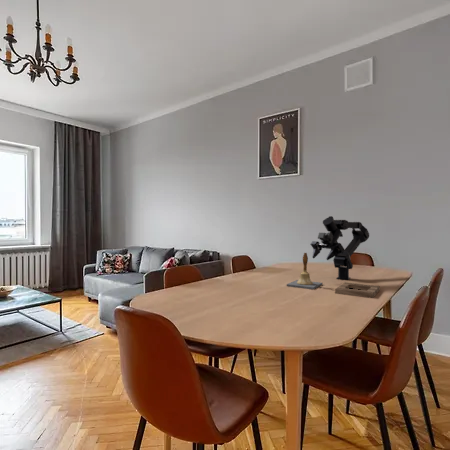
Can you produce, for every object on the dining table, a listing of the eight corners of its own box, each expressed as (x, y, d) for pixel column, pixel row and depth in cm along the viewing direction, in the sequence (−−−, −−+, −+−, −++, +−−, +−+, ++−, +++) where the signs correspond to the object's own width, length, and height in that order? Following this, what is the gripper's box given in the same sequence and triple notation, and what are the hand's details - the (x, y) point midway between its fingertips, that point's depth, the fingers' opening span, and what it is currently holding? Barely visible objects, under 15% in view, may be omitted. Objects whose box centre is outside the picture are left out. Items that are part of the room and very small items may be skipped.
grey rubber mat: (297, 281, 172) (296, 279, 172) (322, 284, 164) (322, 282, 164) (286, 286, 161) (286, 284, 161) (313, 289, 153) (313, 287, 153)
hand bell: (305, 281, 168) (305, 251, 168) (316, 284, 160) (316, 253, 160) (293, 282, 164) (293, 252, 164) (303, 285, 157) (303, 254, 157)
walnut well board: (345, 286, 159) (345, 282, 159) (379, 290, 150) (379, 286, 150) (335, 293, 145) (335, 288, 145) (372, 297, 135) (372, 293, 135)
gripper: (312, 227, 178) (299, 247, 172) (340, 227, 162) (327, 250, 156) (321, 240, 182) (308, 260, 176) (350, 241, 167) (337, 264, 161)
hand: (319, 258), depth 167 cm, fingers open, 9 cm apart
